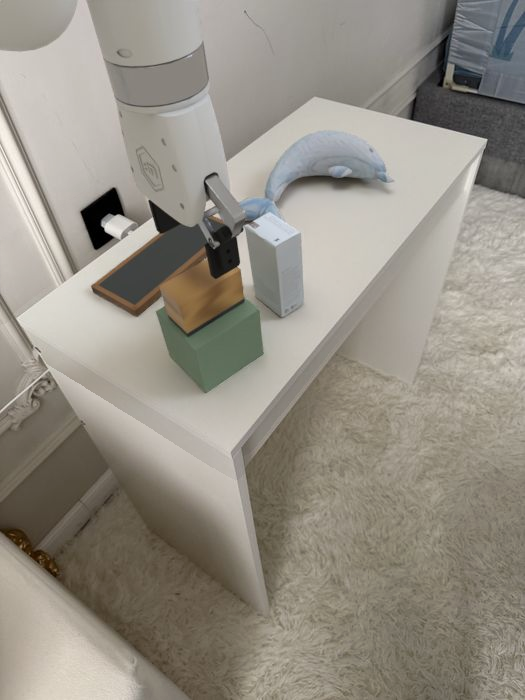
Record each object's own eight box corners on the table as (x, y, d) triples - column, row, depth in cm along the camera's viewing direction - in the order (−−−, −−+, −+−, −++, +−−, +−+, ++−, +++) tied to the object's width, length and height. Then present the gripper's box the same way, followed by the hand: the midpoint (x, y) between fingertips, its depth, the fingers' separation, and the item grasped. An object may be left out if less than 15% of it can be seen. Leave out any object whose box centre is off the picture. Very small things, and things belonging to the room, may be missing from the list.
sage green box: (205, 393, 62) (194, 350, 56) (169, 355, 66) (155, 311, 60) (263, 353, 66) (259, 309, 60) (225, 319, 70) (217, 274, 64)
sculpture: (315, 281, 80) (402, 185, 89) (317, 248, 73) (411, 148, 82) (227, 229, 86) (316, 144, 95) (221, 194, 79) (318, 107, 88)
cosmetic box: (305, 304, 71) (305, 230, 62) (280, 320, 69) (276, 247, 60) (276, 281, 74) (271, 208, 65) (251, 296, 72) (243, 224, 63)
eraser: (188, 337, 57) (179, 305, 54) (168, 318, 60) (158, 285, 56) (245, 302, 60) (240, 269, 57) (224, 284, 62) (219, 252, 59)
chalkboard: (137, 316, 71) (134, 310, 70) (93, 292, 75) (90, 286, 74) (236, 231, 82) (235, 225, 81) (193, 213, 86) (192, 207, 85)
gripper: (65, 58, 43) (123, 227, 56) (180, 128, 34) (217, 310, 47) (142, 30, 46) (180, 198, 59) (268, 88, 37) (280, 271, 50)
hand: (197, 248), depth 53 cm, fingers open, 9 cm apart
